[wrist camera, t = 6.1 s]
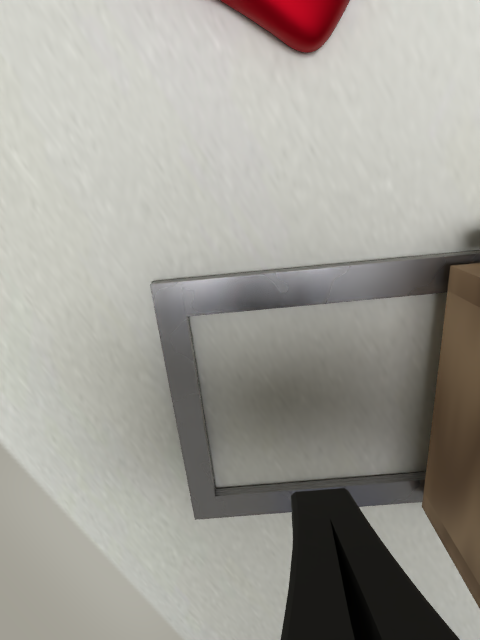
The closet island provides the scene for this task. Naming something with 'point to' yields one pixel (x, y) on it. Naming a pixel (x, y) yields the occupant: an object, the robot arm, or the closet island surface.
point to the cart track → (266, 293)
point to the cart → (458, 429)
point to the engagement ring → (294, 19)
